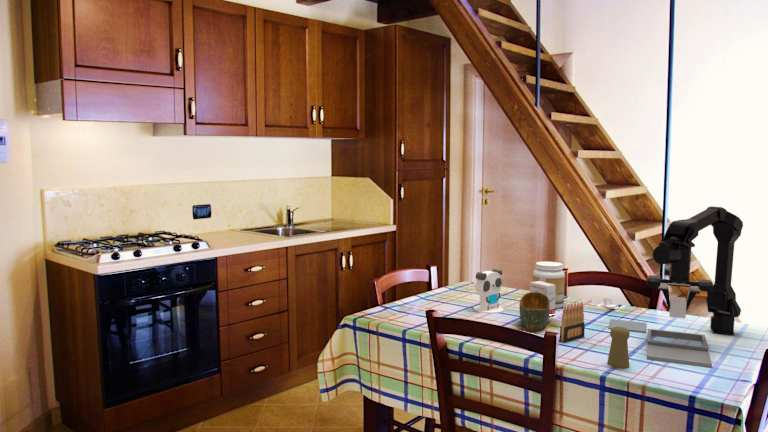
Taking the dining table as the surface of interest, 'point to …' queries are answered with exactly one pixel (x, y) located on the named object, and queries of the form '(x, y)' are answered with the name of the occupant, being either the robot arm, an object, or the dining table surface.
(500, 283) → the panda figurine
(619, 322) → the slate mat
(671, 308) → the block
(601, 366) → the dining table surface
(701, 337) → the gray rectangular frame
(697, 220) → the robot arm
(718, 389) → the dining table surface
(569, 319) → the ammunition clip
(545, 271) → the supplement tub
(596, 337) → the dining table surface
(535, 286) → the ink box
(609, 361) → the brown tapered mill
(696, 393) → the dining table surface
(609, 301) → the teacup and saucer
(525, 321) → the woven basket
